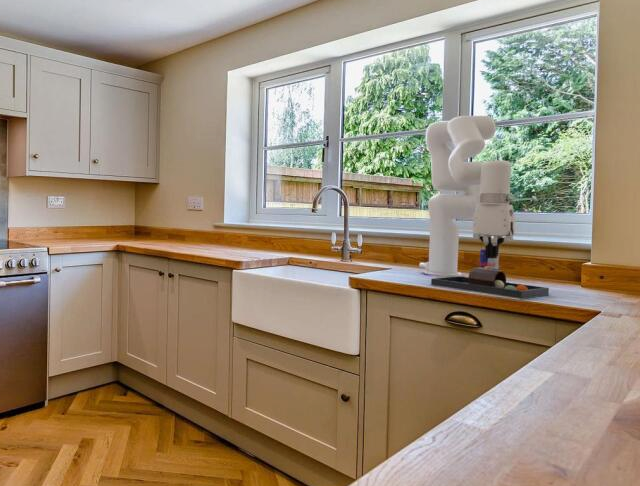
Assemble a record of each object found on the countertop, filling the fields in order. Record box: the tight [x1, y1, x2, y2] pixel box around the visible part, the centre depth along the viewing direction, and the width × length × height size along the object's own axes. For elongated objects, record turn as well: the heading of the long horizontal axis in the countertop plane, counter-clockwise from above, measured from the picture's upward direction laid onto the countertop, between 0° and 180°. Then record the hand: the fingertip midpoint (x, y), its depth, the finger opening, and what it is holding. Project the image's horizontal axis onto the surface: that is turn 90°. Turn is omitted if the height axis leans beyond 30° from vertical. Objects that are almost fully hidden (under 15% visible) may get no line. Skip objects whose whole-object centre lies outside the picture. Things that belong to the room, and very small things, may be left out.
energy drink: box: [478, 248, 500, 270], centre depth 171 cm, size 5×5×12 cm
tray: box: [430, 275, 550, 301], centre depth 155 cm, size 25×17×2 cm
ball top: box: [516, 284, 528, 291], centre depth 146 cm, size 3×3×3 cm
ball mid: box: [504, 285, 517, 290], centre depth 144 cm, size 3×3×3 cm
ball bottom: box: [494, 280, 504, 288], centre depth 152 cm, size 3×3×3 cm
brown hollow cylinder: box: [468, 267, 507, 289], centre depth 155 cm, size 6×7×8 cm
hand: (491, 257), depth 155 cm, fingers closed
